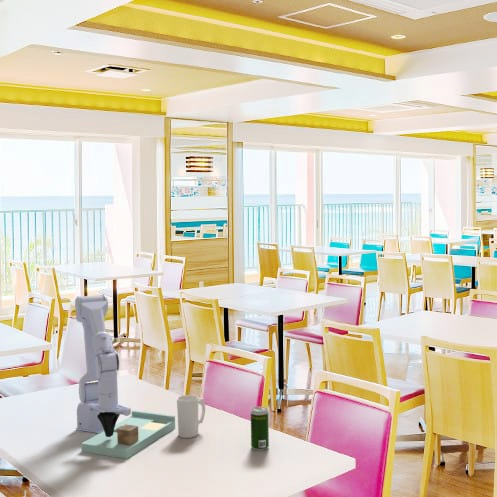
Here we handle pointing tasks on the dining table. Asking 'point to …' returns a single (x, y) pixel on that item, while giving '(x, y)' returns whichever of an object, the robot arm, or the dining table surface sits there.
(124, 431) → the walnut block
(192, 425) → the mug
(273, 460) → the dining table surface
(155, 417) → the board
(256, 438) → the beer can
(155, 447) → the dining table surface
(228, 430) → the dining table surface
